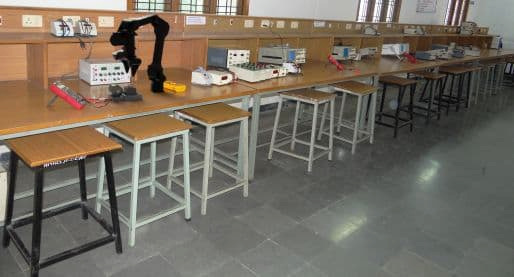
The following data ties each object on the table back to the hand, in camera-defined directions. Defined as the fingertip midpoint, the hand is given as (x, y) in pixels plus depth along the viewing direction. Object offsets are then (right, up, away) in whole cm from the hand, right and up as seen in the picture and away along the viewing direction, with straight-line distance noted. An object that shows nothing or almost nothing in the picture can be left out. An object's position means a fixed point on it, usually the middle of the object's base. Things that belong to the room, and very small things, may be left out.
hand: (130, 75), depth 221 cm
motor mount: (-3, -12, 0) cm, 13 cm away
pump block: (0, -12, +1) cm, 12 cm away
